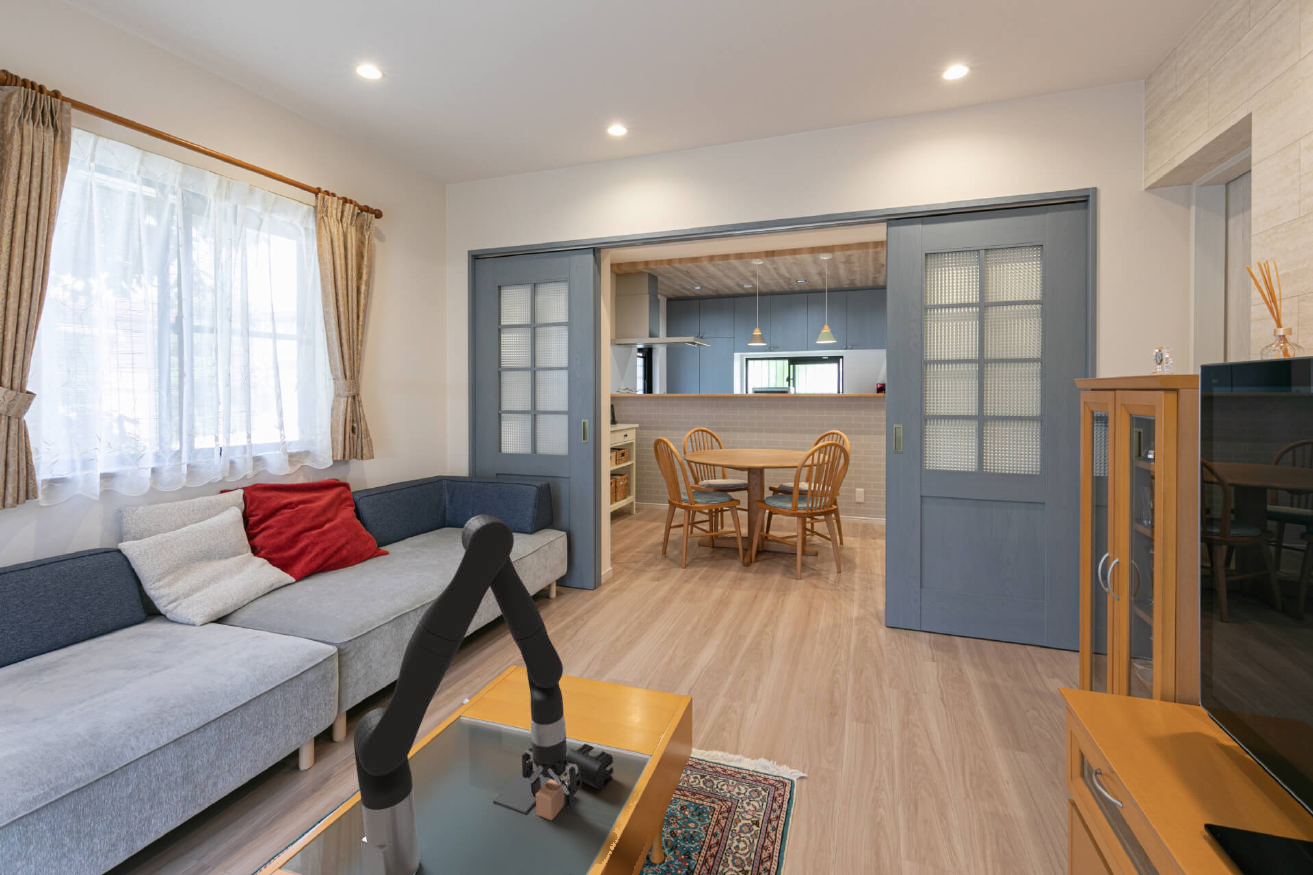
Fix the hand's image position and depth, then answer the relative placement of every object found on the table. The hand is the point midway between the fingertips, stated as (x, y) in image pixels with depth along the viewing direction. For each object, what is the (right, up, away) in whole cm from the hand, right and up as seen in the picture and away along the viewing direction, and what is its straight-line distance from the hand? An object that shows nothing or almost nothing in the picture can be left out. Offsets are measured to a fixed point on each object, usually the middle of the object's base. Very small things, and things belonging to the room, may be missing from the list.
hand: (552, 800), depth 139 cm
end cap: (+7, -1, +9) cm, 11 cm away
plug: (0, -2, +1) cm, 2 cm away
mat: (-7, -1, +6) cm, 9 cm away
